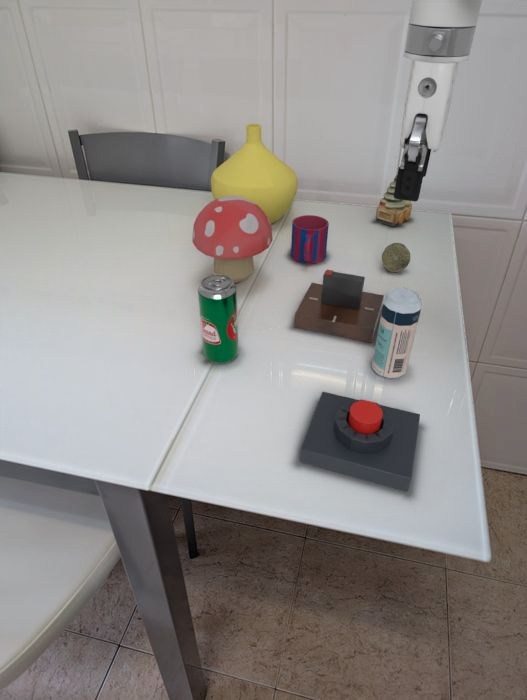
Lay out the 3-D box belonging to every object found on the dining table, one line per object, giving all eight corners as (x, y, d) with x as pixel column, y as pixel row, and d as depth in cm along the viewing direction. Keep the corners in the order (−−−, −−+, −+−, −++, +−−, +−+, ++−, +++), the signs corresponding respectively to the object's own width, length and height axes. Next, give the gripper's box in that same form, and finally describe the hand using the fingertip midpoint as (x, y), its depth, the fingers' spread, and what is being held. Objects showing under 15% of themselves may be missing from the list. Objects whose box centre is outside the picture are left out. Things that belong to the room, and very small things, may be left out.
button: (382, 415, 57) (385, 404, 56) (377, 437, 54) (380, 426, 53) (351, 408, 58) (353, 397, 57) (345, 429, 55) (347, 418, 54)
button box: (416, 426, 60) (423, 403, 58) (407, 491, 53) (414, 467, 51) (321, 403, 64) (323, 380, 61) (299, 462, 56) (301, 438, 54)
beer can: (411, 366, 69) (428, 292, 62) (398, 385, 66) (416, 310, 59) (378, 354, 71) (392, 282, 64) (365, 372, 68) (378, 298, 61)
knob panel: (381, 307, 81) (384, 293, 79) (371, 343, 74) (374, 328, 72) (310, 294, 84) (311, 281, 83) (293, 327, 77) (294, 313, 75)
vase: (195, 223, 107) (187, 129, 95) (242, 196, 119) (240, 110, 107) (268, 243, 99) (269, 144, 88) (310, 212, 112) (316, 121, 100)
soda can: (197, 352, 72) (189, 280, 64) (226, 339, 74) (222, 268, 67) (216, 370, 69) (210, 296, 61) (245, 356, 71) (244, 284, 64)
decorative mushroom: (262, 259, 94) (263, 181, 85) (280, 296, 84) (282, 211, 74) (192, 267, 92) (184, 187, 82) (201, 305, 81) (193, 219, 72)
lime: (411, 270, 91) (416, 245, 88) (391, 277, 89) (396, 251, 86) (394, 260, 94) (399, 236, 91) (375, 266, 92) (379, 242, 89)
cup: (328, 250, 97) (331, 217, 93) (319, 274, 90) (322, 240, 85) (294, 246, 99) (296, 213, 94) (283, 269, 91) (284, 235, 87)
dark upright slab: (360, 304, 77) (365, 275, 74) (358, 310, 76) (363, 280, 73) (323, 298, 79) (325, 268, 75) (320, 303, 77) (323, 273, 74)
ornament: (388, 211, 113) (395, 166, 106) (413, 218, 110) (422, 172, 103) (371, 222, 108) (378, 176, 101) (397, 230, 105) (405, 183, 98)
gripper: (469, 56, 51) (432, 214, 62) (473, 36, 64) (442, 170, 74) (395, 51, 53) (372, 205, 64) (414, 33, 66) (392, 164, 76)
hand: (410, 186), depth 69 cm, fingers open, 9 cm apart
